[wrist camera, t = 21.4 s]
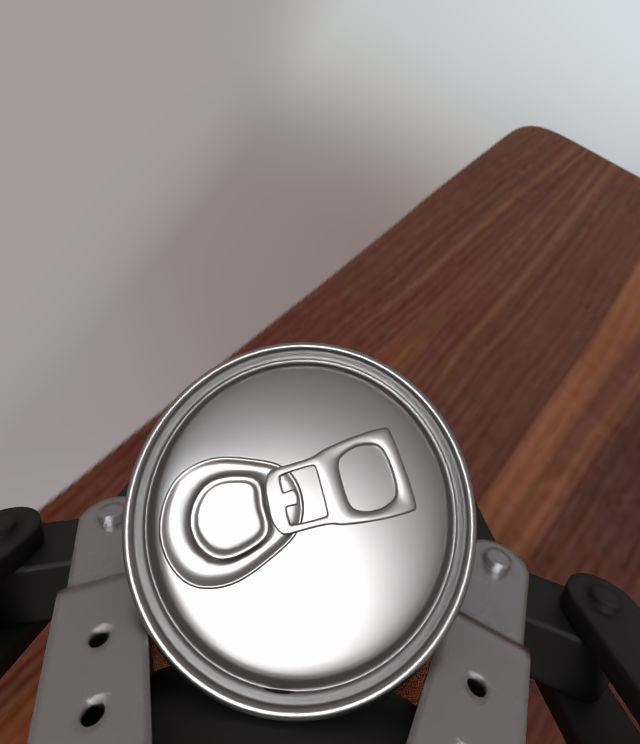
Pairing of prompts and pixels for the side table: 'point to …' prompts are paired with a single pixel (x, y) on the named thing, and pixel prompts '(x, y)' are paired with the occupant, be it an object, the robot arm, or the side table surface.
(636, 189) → the side table surface
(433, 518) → the can
